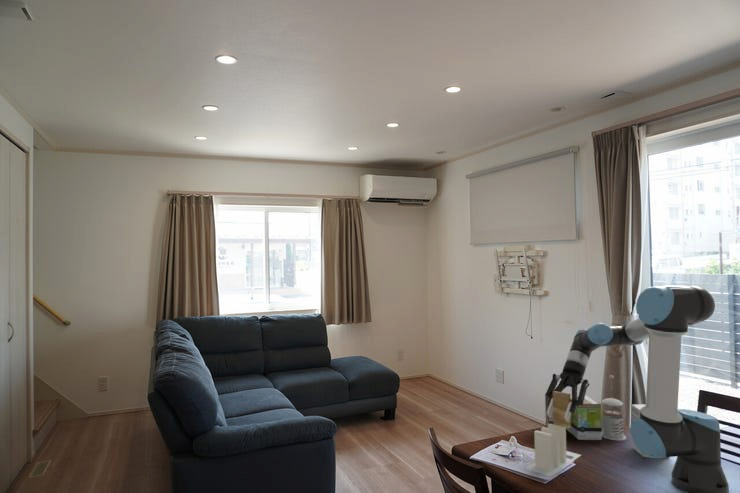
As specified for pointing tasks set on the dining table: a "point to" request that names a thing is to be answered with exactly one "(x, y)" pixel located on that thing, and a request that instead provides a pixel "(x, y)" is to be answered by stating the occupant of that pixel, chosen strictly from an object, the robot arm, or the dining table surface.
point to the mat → (570, 458)
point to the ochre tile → (560, 408)
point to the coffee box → (548, 419)
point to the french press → (612, 419)
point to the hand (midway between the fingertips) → (557, 417)
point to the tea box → (586, 420)
